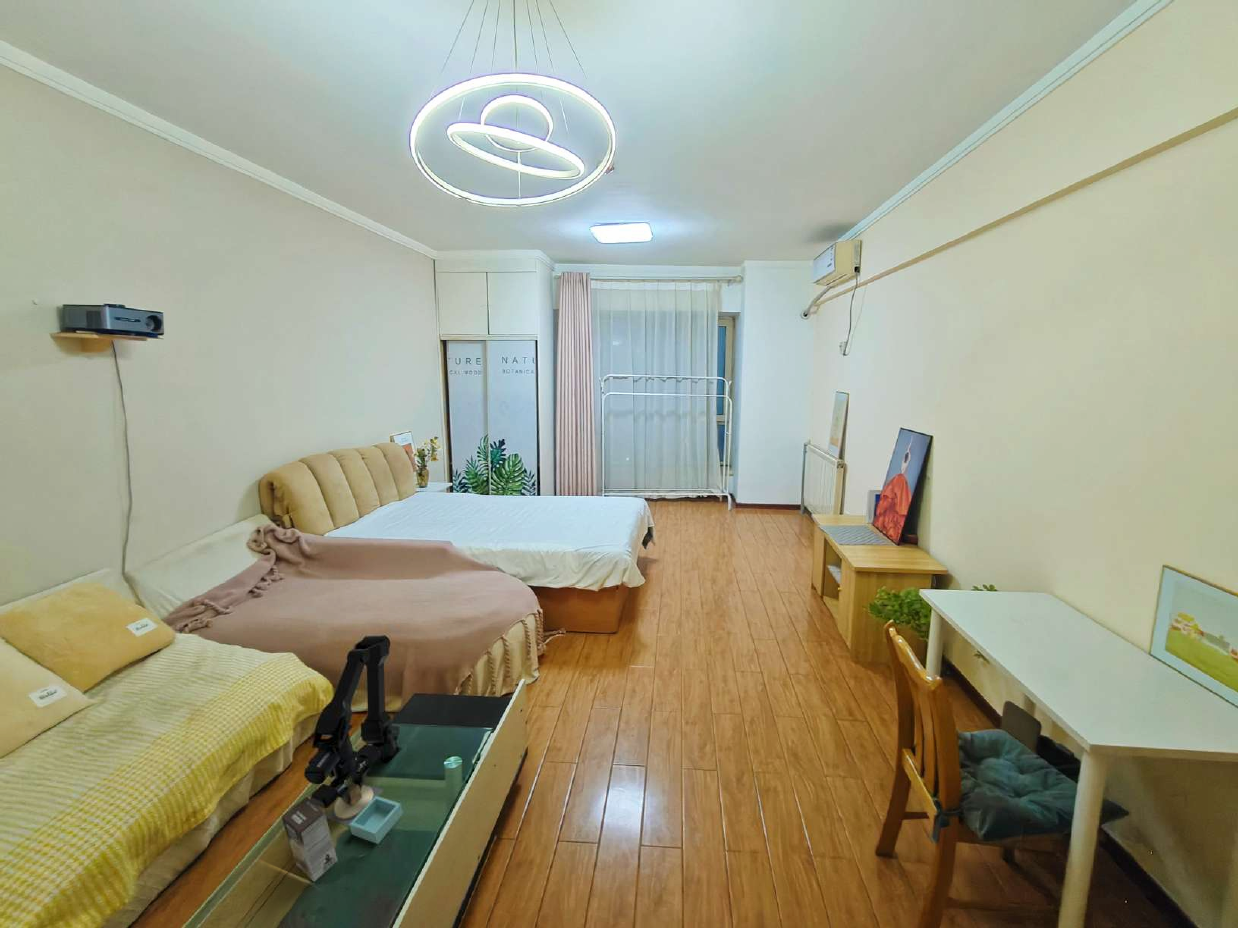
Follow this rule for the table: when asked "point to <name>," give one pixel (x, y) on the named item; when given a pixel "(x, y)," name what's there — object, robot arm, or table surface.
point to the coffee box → (309, 838)
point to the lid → (354, 801)
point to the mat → (346, 822)
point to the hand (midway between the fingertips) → (353, 798)
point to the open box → (376, 819)
